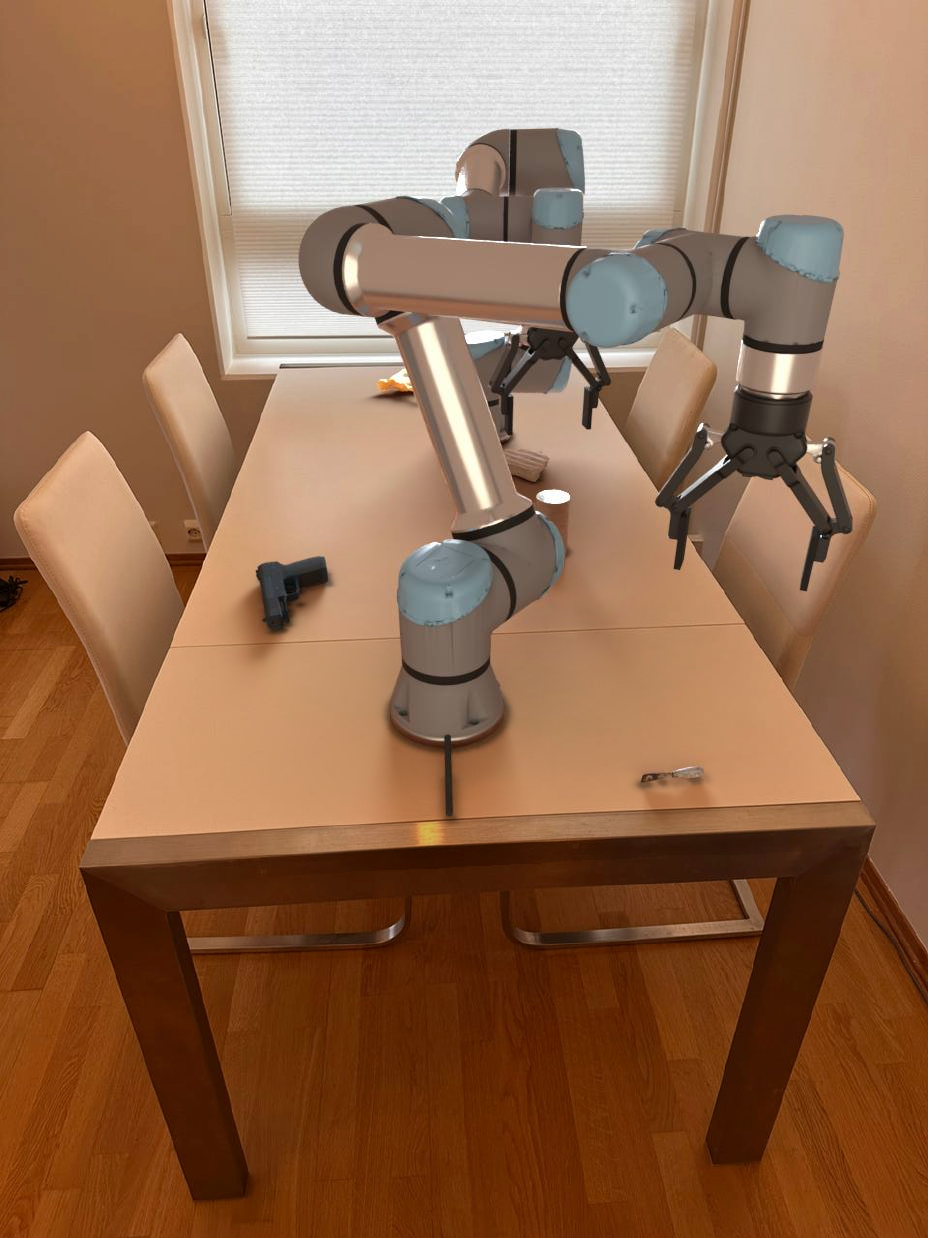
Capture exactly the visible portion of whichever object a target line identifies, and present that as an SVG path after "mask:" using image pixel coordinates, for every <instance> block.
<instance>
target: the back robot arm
mask: <svg viewBox="0 0 928 1238" xmlns="http://www.w3.org/2000/svg"><path fill="white" fill-rule="evenodd" d="M583 145H584V144H583V138H582V135H581V134H580V133H579V131H577V130H575V129H566V128H559V127H549V128H547V127H546V128H545V127H544V128H500V129H495V130H492V131H489V132H486V133H484V134H482V135H480V136H478V137H476V138H475V139H473V140H472V141H470V142H469V143H468V144H466V145H465V146H464V147H463V149H462V150H461V152H460V153H459V154H458V157H457V159H456V162H455V167H454V177H455V182H456V184H457V187H456V191H455V192H456V193H455V194H454V195H447V196H446V195H445V196H443V197H441V199H440V200H439V203H441V204H443V205H444V206H445V207H447V208H448V209H449V210H450V211H451V212H452V214H453V215H454V216H455V217H456V219H457V220H458V222H459V224H460V226H461V228H462V230H463V232H464V235H465V238H466V240H481V241H497V242H513V243H529V244H545V245H561V246H577V247H582V237H583V236H582V235H583V221H584V218H585V212H584V196H585V195H586V175H585V174H586V173H585V160H584V159H585V158H584V157H585V156H584V147H583ZM465 337H466V340H467V343H468V346H469V349H470V352H471V355H472V358H473V361H474V364H475V367H476V370H477V373H478V376H479V379H480V383H481V386H482V389H483V392H484V395H485V398H486V401H487V404H488V407H489V410H490V413H491V416H492V419H493V422H494V425H495V428H496V431H497V434H498V437H499V440H500V443H501V444H503V443H505V442H507V441H508V440H509V439H510V438H511V436H513V435H514V432H513V431H514V399H515V398H514V395H513V394H543V395H547V394H559V393H562V392H564V391H565V389H566V388H567V386H568V383H569V379H570V375H571V371H572V365H573V367H574V368H575V369H576V370H577V371H578V372H579V374H580V375H581V376H582V377H583V379H584V380H585V381H586V382H587V384H588V385H589V386H584V387H583V401H582V414H581V415H582V416H581V425H582V426H583V428H584V429H585V430H592V420H593V409H597V408H598V406H599V398H600V392H601V391H602V390H603V388H604V387H605V386H610V385H611V384H612V380H611V377H610V374H609V372H608V370H607V367H606V364H605V362H604V360H603V358H602V355H601V353H600V349H599V347H596V346H593V345H591V344H589V343H588V342H586V341H585V340H584V339H583V338H582V337H580V336H579V335H578V334H577V333H576V332H569V331H560V330H552V329H544V328H536V327H527V326H519V327H518V328H516V330H510V331H509V332H508V336H507V337H506V336H505V333H504V332H503V331H498V330H496V331H495V330H483V331H476V332H471V333H466V334H465ZM506 338H507V339H506ZM579 339H580V341H581V342H582V343H583V344H584V345H585V347H586V350H587V353H588V356H589V358H590V360H591V363H592V365H593V367H594V370H595V372H596V374H597V377H595V375H594V374H592V373H591V371H590V370H589V368H588V367H587V366H586V364H585V363H584V362H583V361H582V360H581V358H580V357H579V356H578V354H577V353H576V351H575V350H574V345H575V344H576V343H577V341H578V340H579Z"/></svg>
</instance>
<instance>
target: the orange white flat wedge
mask: <svg viewBox="0 0 928 1238" xmlns="http://www.w3.org/2000/svg"><path fill="white" fill-rule="evenodd" d="M404 375H407V372H406V369H405V367H403V369H402V370H401V369H400V370H399V372H398V373H395V374H394V375H391V377H390V378H388V379H383V378H382V379H379V380H378V381H377V389H378V390H380V391H384V392H386V391H390V390H391V387H393V388H395V389H396V390H397V391H400V392H408V391H409V392H413V389H412V386H411V384H410V381H409V378H408V376H407V377H406V376H404Z"/></svg>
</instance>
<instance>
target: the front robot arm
mask: <svg viewBox="0 0 928 1238" xmlns="http://www.w3.org/2000/svg"><path fill="white" fill-rule="evenodd" d="M844 239H845V231H844V227H843V226H842V224H841V223H840V222H839V221H837V220H836V219H834V218H830V217H827V216H826V217H825V216H819V215H811V214H809V215H808V214H801V215H800V214H799V215H798V214H779V215H778V214H777V215H772V216H771V215H770V216H768V217H766V218H765V219H763V220H762V221H761V222H760V226H759V232H758V233H757V234H756V235H753V236H743V235H732V234H726V233H725V234H724V233H717V232H716V233H715V232H707V231H699V230H689V229H687V228H686V227H679V226H678V227H675V228H661V227H660V228H659V227H658V228H657V227H656V228H652V229H649V230H647V231H646V232H644V233H643V234H642V235H641V238H640V240H638V241H636V243H635V245H634V247H633V248H610V247H608V248H607V247H587V246H581V247H577V246H561V245H545V244H529V243H513V242H497V241H481V240H466V238H465V235H464V232H463V230H462V228H461V226H460V224H459V222H458V220H457V219H456V217H455V216H454V215H453V214H452V212H451V211H450V210H449V209H448V208H447V207H445V206H444V205H443V204H441V203H440V201H437V199H434V198H431V197H428V196H423V195H417V196H416V195H415V196H411V195H397V196H395V197H392V198H387V199H381V200H376V201H369V202H364V203H359V204H352V205H343V206H342V205H341V206H339V207H333V208H332V209H330V210H327V211H325V212H323V213H322V214H320V215H319V216H317V218H316V219H314V220H313V222H312V223H311V224H310V225H308V227H307V228H306V230H305V232H304V234H303V236H302V238H301V241H300V245H299V249H298V269H299V274H300V277H301V280H302V283H303V286H304V287H305V289H306V291H307V293H308V294H309V295H310V296H311V298H312V299H313V300H314V301H315V302H316V303H318V304H319V305H320V306H321V307H323V308H324V309H326V310H329V311H331V312H332V313H337V314H339V315H347V316H357V317H363V318H364V317H365V318H374V320H375V323H376V326H377V328H378V329H379V330H381V331H383V332H385V333H387V334H389V335H390V336H391V337H393V338H394V342H395V344H396V347H397V350H398V352H399V355H400V358H401V361H402V363H403V366H404V367H405V369H406V372H407V374H406V375H407V378H409V381H410V384H411V386H412V389H413V391H412V392H413V395H414V398H415V400H416V404H417V406H418V409H419V412H420V414H421V417H422V420H423V423H424V426H425V429H426V432H427V435H428V437H429V440H430V443H431V446H432V449H433V451H434V454H435V457H436V460H437V463H438V465H439V468H440V471H441V474H442V477H443V480H444V483H445V485H446V489H447V491H448V494H449V497H450V500H451V502H452V505H453V508H454V511H455V516H454V519H453V520H452V522H451V525H450V527H449V531H450V534H451V536H452V539H444V540H443V541H442V542H440V543H439V542H437V541H432V542H430V543H427V544H425V545H422V546H420V547H419V548H417V549H415V550H414V551H413V552H411V553H410V554H409V555H408V556H407V557H406V558H405V559H404V561H403V563H402V564H401V566H400V568H399V571H398V578H397V583H398V584H397V590H396V603H397V607H398V608H397V609H398V620H399V621H398V622H399V640H400V655H401V667H400V669H399V672H398V675H397V678H396V681H395V684H394V687H393V690H392V693H391V696H390V703H389V706H390V718H391V721H392V724H393V725H394V727H395V728H396V729H397V731H398V732H399V733H400V734H402V735H403V736H404V737H406V738H407V739H409V740H411V741H413V742H415V743H417V744H420V745H421V744H422V745H425V746H430V747H437V748H444V790H445V791H444V792H445V794H444V797H445V800H444V801H445V815H446V816H447V817H452V816H453V815H454V801H453V764H452V763H453V762H452V759H453V758H452V748H454V747H455V748H457V747H463V746H467V745H471V744H473V743H476V742H480V741H481V740H483V739H485V738H486V737H488V736H489V735H491V734H492V733H493V732H494V731H495V730H496V729H498V727H499V726H500V724H501V722H502V720H503V717H504V697H503V693H502V690H501V685H500V683H499V681H498V679H497V677H496V674H495V672H494V668H493V666H492V664H491V654H492V653H491V651H492V649H491V648H492V647H491V645H492V634H493V632H494V631H495V630H497V629H498V628H499V627H501V626H503V624H505V623H506V622H507V621H509V620H510V619H511V618H513V617H514V616H515V615H517V614H518V613H520V612H521V611H523V610H524V609H526V608H528V607H529V606H530V605H531V604H532V603H535V602H537V601H538V600H540V599H542V598H543V597H544V596H545V595H546V594H547V593H548V591H549V590H550V589H551V588H552V587H553V586H555V584H556V583H557V582H558V581H559V579H560V577H561V575H562V573H563V570H564V567H565V561H566V554H565V550H564V544H563V540H562V537H561V535H560V533H559V531H558V529H557V528H556V526H555V525H554V523H553V522H549V521H547V517H546V516H545V515H543V514H541V513H539V512H537V511H536V509H535V507H534V504H533V501H532V499H530V498H528V497H527V496H524V495H523V494H521V493H519V492H518V491H517V488H516V485H515V483H514V479H513V477H512V474H511V473H510V470H509V467H508V464H507V461H506V458H505V455H504V452H503V449H504V448H503V446H502V443H500V440H499V437H498V434H497V431H496V428H495V425H494V422H493V419H492V416H491V413H490V410H489V407H488V404H487V401H486V398H485V395H484V392H483V389H482V386H481V383H480V379H479V376H478V373H477V370H476V367H475V364H474V361H473V358H472V355H471V352H470V349H469V346H468V343H467V340H466V337H465V335H466V334H465V331H464V327H463V325H462V323H461V319H462V320H470V321H477V322H478V321H479V322H487V323H494V324H503V325H504V324H505V325H512V326H519V327H521V326H527V327H536V328H544V329H552V330H560V331H569V332H576V333H577V334H578V335H579V336H580V337H582V338H583V339H584V340H585V341H586V342H588V343H589V344H591V345H593V346H596V347H597V348H600V349H612V348H613V349H614V348H617V347H620V346H629V345H632V344H636V343H638V342H640V341H641V340H643V339H645V338H646V337H648V336H649V335H652V334H653V333H655V332H657V331H660V330H662V329H665V328H666V327H669V326H671V325H673V324H675V323H677V322H680V321H682V320H684V319H687V318H690V317H692V316H693V315H699V316H700V315H701V316H707V317H708V316H709V317H714V318H715V317H716V318H722V319H729V320H735V321H737V320H739V321H743V333H742V337H741V343H740V348H739V349H740V350H739V356H738V361H737V368H736V369H737V370H736V376H735V380H736V382H737V383H738V385H737V386H736V387H734V389H733V394H732V401H731V408H730V414H729V419H728V425H727V427H726V428H725V430H720V429H717V428H712V427H711V425H710V424H709V423H708V422H702V423H700V424H699V426H698V428H697V430H696V433H695V434H694V439H693V443H692V445H691V446H690V448H689V450H688V451H687V452H686V454H685V455H684V457H683V458H682V459H681V460H680V462H679V463H678V465H676V468H675V469H674V470H673V472H672V473H671V474H670V476H669V478H668V479H667V480H666V482H665V483H664V484H663V485H662V487H661V489H660V490H659V492H658V493H657V496H656V497H655V501H654V504H655V506H656V507H658V508H664V509H666V510H668V512H669V514H670V516H669V523H668V531H667V535H668V539H669V540H675V541H676V547H675V554H674V562H673V570H677V571H681V569H682V567H683V564H684V561H685V555H686V548H687V542H688V541H687V540H688V534H689V529H690V520H691V514H692V507H691V506H692V505H693V504H694V503H696V502H697V501H698V500H700V499H701V498H702V497H703V496H705V495H706V494H707V493H708V492H710V491H711V490H712V489H713V488H714V487H715V486H717V485H718V484H719V483H721V482H722V481H723V480H724V479H725V480H726V479H727V478H728V477H731V475H732V474H734V473H735V472H737V473H739V474H741V477H745V478H756V477H757V478H761V479H762V480H767V481H773V480H774V479H778V478H781V480H782V481H783V483H784V484H785V486H786V487H787V488H788V489H790V491H791V493H792V494H793V495H794V497H795V498H796V500H797V501H798V503H799V504H800V506H801V507H802V508H803V510H804V511H805V513H806V515H807V516H808V518H809V519H810V521H811V523H812V524H813V525H812V527H811V528H812V529H811V533H810V538H809V542H808V546H807V551H806V554H805V559H804V563H803V568H802V573H801V577H800V585H799V591H801V592H808V589H809V584H810V581H811V575H812V572H813V571H812V570H813V567H814V562H816V563H822V564H823V563H824V562H825V561H826V560H827V557H828V552H829V547H830V544H831V539H832V537H833V536H834V535H838V534H842V535H848V534H851V533H852V532H853V525H854V524H853V522H854V521H853V519H854V517H853V515H852V511H851V507H850V504H849V502H848V499H847V496H846V492H845V489H844V486H843V483H842V479H841V476H840V474H839V470H838V466H837V463H836V460H835V455H836V445H837V443H836V440H835V438H834V437H831V436H828V437H826V438H824V440H808V439H807V437H806V432H807V427H808V422H809V417H810V413H811V408H812V403H813V398H814V395H813V394H812V392H811V391H812V390H813V389H814V388H815V387H816V382H817V378H818V373H819V370H820V364H821V359H822V355H823V351H824V350H823V349H824V344H825V343H824V342H825V337H826V332H827V327H828V324H829V319H830V315H831V309H832V305H833V301H834V297H835V292H836V288H837V283H838V280H839V279H840V273H841V272H840V265H841V258H842V251H843V246H844ZM404 367H403V368H404ZM718 443H719V444H721V448H723V451H724V452H725V454H726V455H724V456H723V458H721V459H720V460H719V461H718V463H716V464H715V465H714V466H713V467H712V468H710V469H709V470H708V471H707V472H705V473H704V474H703V475H702V476H701V477H699V478H698V479H697V480H696V481H694V482H693V483H692V484H691V485H690V486H688V487H687V488H686V489H685V490H684V491H683V492H681V493H680V494H679V495H678V494H675V492H676V491H677V489H679V487H680V486H681V484H682V483H683V482H684V480H685V479H686V477H687V476H688V475H689V474H690V472H691V471H692V469H693V468H694V467H695V465H696V464H697V462H698V461H699V460H700V458H701V456H702V454H703V452H704V450H707V451H710V450H711V449H713V447H714V446H715V444H718ZM806 454H808V455H810V456H811V457H812V460H813V462H814V463H815V464H820V470H821V471H820V472H821V475H822V478H823V481H824V485H825V489H826V491H827V494H828V497H829V500H830V504H831V506H832V510H833V513H834V516H835V517H831V515H830V513H829V512H828V511H827V509H826V508H825V506H824V505H823V502H822V501H821V500H820V499H819V497H818V496H817V494H816V493H815V491H814V490H813V487H812V486H811V485H810V484H809V482H808V481H807V479H806V478H805V476H804V475H803V472H802V470H801V468H800V466H799V464H798V462H799V461H800V460H801V459H803V457H805V455H806Z"/></svg>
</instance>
